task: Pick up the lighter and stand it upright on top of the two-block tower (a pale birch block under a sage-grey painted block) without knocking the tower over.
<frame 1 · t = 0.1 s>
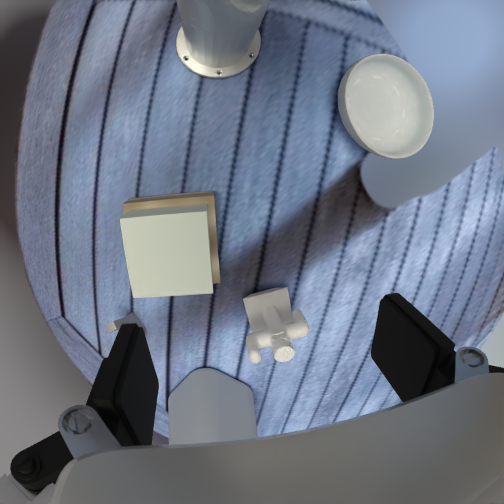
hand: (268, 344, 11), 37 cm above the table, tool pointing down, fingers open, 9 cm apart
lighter: (131, 315, 50), on the table
figurine: (265, 300, 53), on the table
sage top block: (171, 244, 42), point 5 cm above the table, touching birch base block
cereal bowl: (371, 108, 44), on the table
birch base block: (175, 234, 47), on the table, touching sage top block
plastic bottle: (210, 394, 59), on the table
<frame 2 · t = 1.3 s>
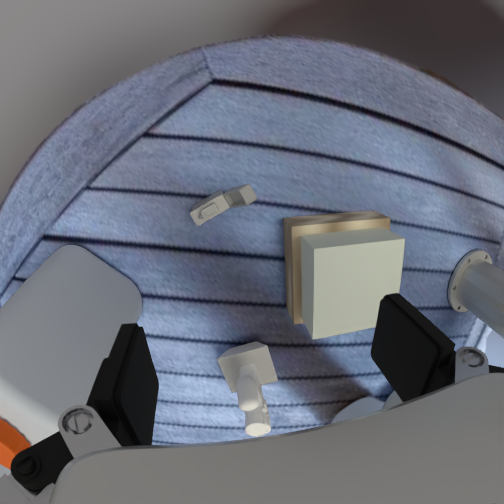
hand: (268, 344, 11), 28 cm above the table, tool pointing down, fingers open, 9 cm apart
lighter: (220, 197, 37), on the table
figurine: (246, 354, 45), on the table
sage top block: (343, 273, 37), point 4 cm above the table, touching birch base block
birch base block: (329, 258, 41), on the table, touching sage top block
plastic bottle: (88, 299, 39), on the table
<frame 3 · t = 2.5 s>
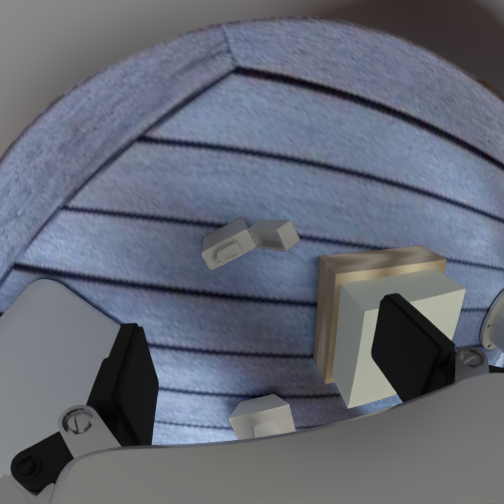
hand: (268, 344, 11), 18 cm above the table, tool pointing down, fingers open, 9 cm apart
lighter: (240, 227, 28), on the table
figurine: (260, 406, 36), on the table
sage top block: (385, 324, 28), point 5 cm above the table, touching birch base block
birch base block: (368, 302, 33), on the table, touching sage top block
plastic bottle: (71, 342, 30), on the table
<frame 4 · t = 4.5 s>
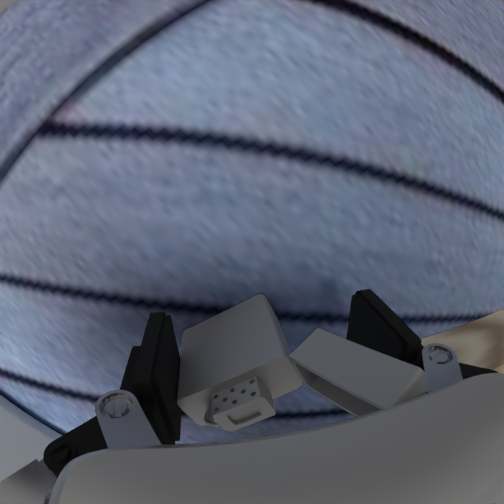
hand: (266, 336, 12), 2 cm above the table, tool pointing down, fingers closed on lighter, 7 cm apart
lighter: (258, 310, 13), on the table, touching gripper
birch base block: (439, 388, 19), on the table, touching sage top block
plastic bottle: (14, 438, 15), on the table
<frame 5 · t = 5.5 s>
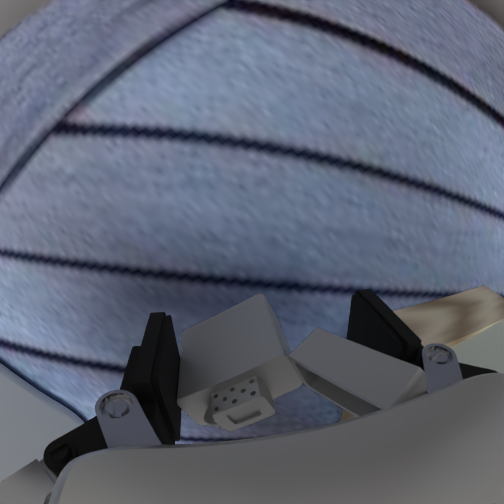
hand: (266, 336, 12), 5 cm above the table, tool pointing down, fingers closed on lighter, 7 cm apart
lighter: (258, 310, 13), point 3 cm above the table, touching gripper
sage top block: (448, 395, 17), point 5 cm above the table, touching birch base block
birch base block: (412, 364, 22), on the table, touching sage top block
plastic bottle: (17, 415, 17), on the table
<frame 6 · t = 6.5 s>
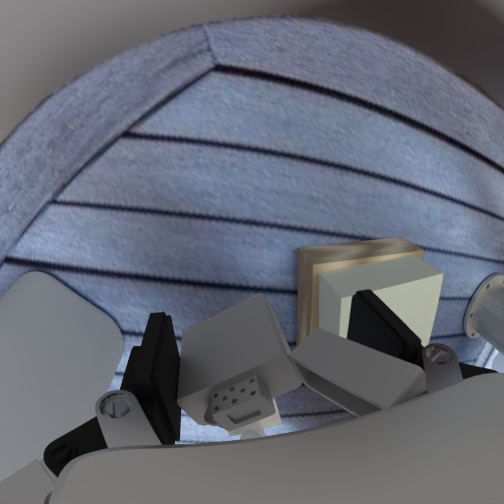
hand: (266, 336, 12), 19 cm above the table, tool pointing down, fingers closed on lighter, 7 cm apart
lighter: (258, 309, 13), point 17 cm above the table, touching gripper
figurine: (245, 394, 38), on the table
sage top block: (367, 311, 30), point 5 cm above the table, touching birch base block
birch base block: (348, 293, 35), on the table, touching sage top block
plastic bottle: (61, 333, 30), on the table
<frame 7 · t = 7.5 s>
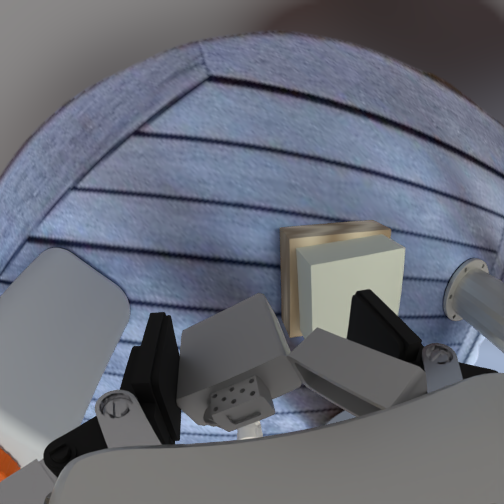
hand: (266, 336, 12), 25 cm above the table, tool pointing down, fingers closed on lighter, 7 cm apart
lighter: (257, 310, 13), point 23 cm above the table, touching gripper
figurine: (236, 363, 43), on the table
sage top block: (341, 283, 35), point 5 cm above the table, touching birch base block
birch base block: (326, 269, 40), on the table, touching sage top block
plastic bottle: (74, 305, 36), on the table
when the fingers open (13 cm above the table, at t = 11.5 s): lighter drops 1 cm, resting on sage top block.
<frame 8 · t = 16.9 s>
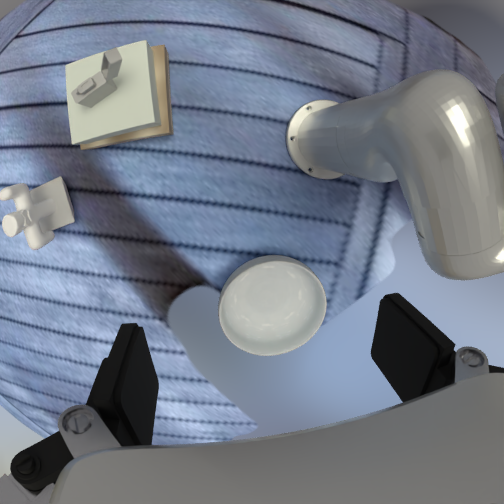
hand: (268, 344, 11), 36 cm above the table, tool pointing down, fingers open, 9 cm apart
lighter: (111, 86, 29), point 9 cm above the table, touching sage top block
figurine: (60, 201, 41), on the table
sage top block: (118, 96, 34), point 5 cm above the table, touching birch base block, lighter
cereal bowl: (266, 292, 52), on the table
birch base block: (128, 100, 38), on the table, touching sage top block
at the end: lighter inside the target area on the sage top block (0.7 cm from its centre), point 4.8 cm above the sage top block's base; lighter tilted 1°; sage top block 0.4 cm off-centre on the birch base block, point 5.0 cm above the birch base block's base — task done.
